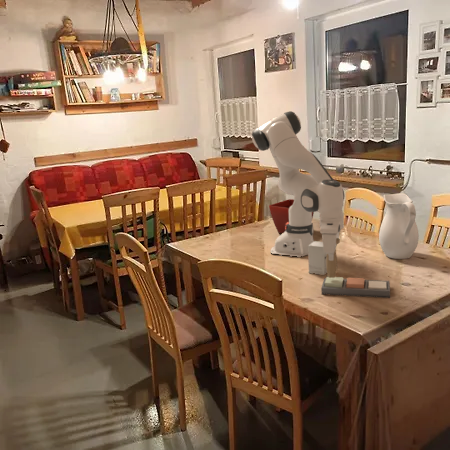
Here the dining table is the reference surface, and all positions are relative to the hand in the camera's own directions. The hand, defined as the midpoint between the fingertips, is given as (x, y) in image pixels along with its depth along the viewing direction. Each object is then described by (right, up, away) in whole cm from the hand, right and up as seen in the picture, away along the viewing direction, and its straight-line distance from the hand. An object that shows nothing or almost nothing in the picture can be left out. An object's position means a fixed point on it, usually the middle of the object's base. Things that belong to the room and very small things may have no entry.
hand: (332, 257), depth 177 cm
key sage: (+2, -11, +3) cm, 11 cm away
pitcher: (+39, -2, +32) cm, 51 cm away
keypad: (+9, -13, +1) cm, 16 cm away
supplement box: (0, -8, +24) cm, 25 cm away
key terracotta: (+9, -11, 0) cm, 14 cm away
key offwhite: (+17, -12, -2) cm, 21 cm away
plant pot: (-2, +8, +87) cm, 87 cm away
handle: (0, -8, +2) cm, 8 cm away
